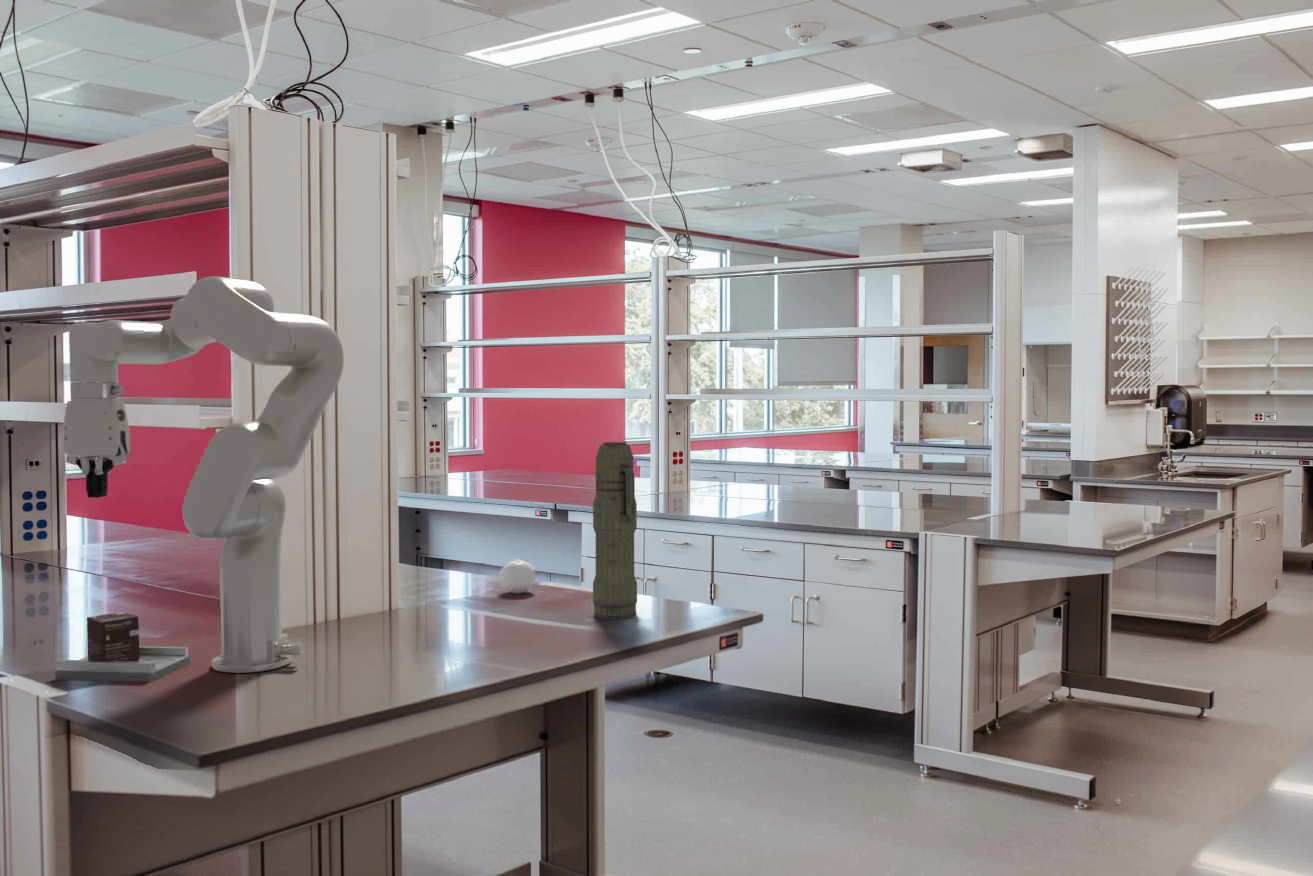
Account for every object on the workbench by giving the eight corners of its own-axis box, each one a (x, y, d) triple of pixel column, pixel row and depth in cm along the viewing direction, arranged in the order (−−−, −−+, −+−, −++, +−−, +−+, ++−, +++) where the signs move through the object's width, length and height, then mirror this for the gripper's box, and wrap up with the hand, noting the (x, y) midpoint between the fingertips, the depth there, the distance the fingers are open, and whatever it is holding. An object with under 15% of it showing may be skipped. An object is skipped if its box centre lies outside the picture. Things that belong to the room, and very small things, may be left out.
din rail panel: (190, 662, 186) (189, 646, 186) (150, 682, 174) (149, 664, 174) (100, 660, 187) (100, 644, 187) (55, 679, 176) (54, 662, 175)
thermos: (612, 607, 231) (612, 440, 229) (650, 616, 222) (650, 443, 221) (579, 613, 225) (578, 442, 223) (617, 622, 216) (616, 444, 215)
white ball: (532, 589, 252) (532, 555, 251) (538, 595, 245) (537, 561, 244) (497, 591, 250) (497, 557, 249) (502, 597, 242) (501, 562, 242)
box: (102, 667, 177) (101, 622, 176) (86, 661, 181) (85, 617, 180) (140, 660, 181) (139, 616, 181) (124, 654, 185) (123, 611, 185)
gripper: (146, 392, 197) (149, 495, 197) (68, 392, 198) (70, 494, 199) (122, 393, 189) (124, 499, 190) (40, 393, 191) (43, 498, 192)
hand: (97, 496), depth 194 cm, fingers closed
